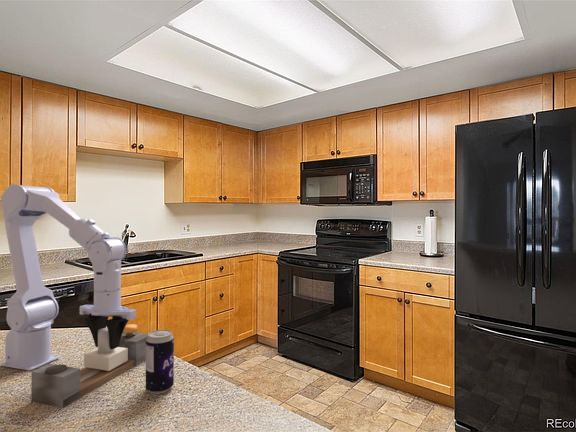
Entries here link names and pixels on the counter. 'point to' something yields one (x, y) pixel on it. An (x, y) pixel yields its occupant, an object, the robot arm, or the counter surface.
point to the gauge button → (130, 330)
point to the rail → (81, 376)
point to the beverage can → (159, 361)
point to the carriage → (105, 354)
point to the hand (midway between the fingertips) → (107, 346)
